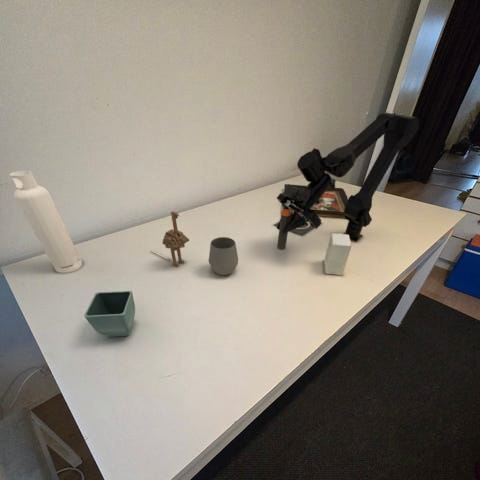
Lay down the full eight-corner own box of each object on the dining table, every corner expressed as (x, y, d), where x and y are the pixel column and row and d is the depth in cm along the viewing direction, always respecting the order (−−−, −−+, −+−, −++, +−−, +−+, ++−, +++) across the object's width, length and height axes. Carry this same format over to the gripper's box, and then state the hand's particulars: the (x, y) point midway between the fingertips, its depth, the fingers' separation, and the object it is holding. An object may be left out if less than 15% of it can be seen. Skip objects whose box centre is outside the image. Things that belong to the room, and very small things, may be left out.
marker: (280, 244, 94) (284, 208, 85) (287, 247, 92) (293, 210, 83) (274, 248, 92) (279, 211, 83) (282, 251, 91) (287, 213, 81)
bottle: (87, 262, 89) (45, 170, 69) (69, 274, 83) (18, 179, 64) (68, 257, 91) (22, 167, 71) (49, 270, 85) (-6, 175, 66)
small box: (341, 275, 85) (352, 246, 78) (324, 273, 86) (332, 244, 79) (340, 262, 91) (349, 234, 84) (323, 260, 92) (331, 232, 84)
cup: (216, 281, 82) (214, 253, 75) (205, 267, 88) (202, 239, 81) (243, 274, 85) (243, 246, 78) (230, 260, 91) (230, 233, 84)
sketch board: (294, 214, 120) (294, 213, 120) (321, 223, 113) (321, 222, 113) (273, 225, 111) (273, 224, 111) (302, 235, 105) (302, 234, 104)
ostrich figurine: (193, 263, 89) (186, 210, 77) (178, 272, 85) (169, 217, 73) (159, 248, 96) (148, 197, 84) (145, 255, 92) (130, 203, 80)
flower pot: (107, 318, 70) (95, 291, 63) (141, 316, 70) (132, 290, 64) (98, 343, 63) (82, 316, 57) (135, 341, 64) (124, 314, 58)
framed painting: (362, 219, 117) (365, 212, 115) (284, 217, 116) (285, 210, 114) (340, 190, 144) (341, 184, 142) (276, 189, 144) (277, 183, 142)
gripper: (285, 165, 83) (252, 206, 87) (322, 183, 71) (282, 229, 75) (301, 188, 91) (270, 224, 95) (337, 207, 79) (300, 248, 83)
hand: (280, 230), depth 87 cm, fingers closed on marker, 3 cm apart
